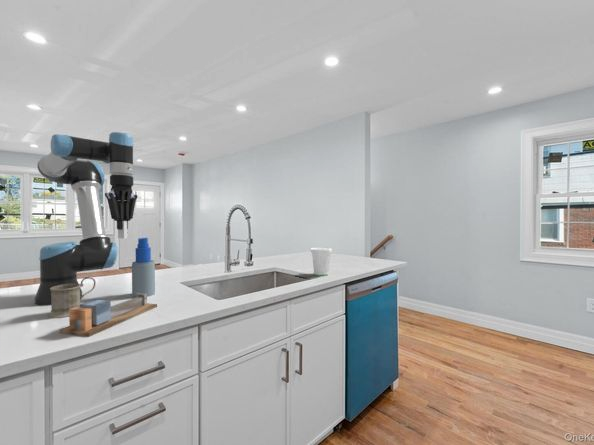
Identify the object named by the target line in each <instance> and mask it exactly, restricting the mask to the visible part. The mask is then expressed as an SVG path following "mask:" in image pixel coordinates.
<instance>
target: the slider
mask: <svg viewBox="0 0 594 445" xmlns="http://www.w3.org/2000/svg"><path fill="white" fill-rule="evenodd" d="M80 308H90V309H91V314H92V321H93V325H99V324H101V323H104V322H106V321H108V320H111V300H103V299H92V300H89V301H85V302H83V303H80Z"/></svg>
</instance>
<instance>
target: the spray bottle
mask: <svg viewBox="0 0 594 445" xmlns="http://www.w3.org/2000/svg"><path fill="white" fill-rule="evenodd" d="M137 241H138V243H137V246H136V247H135V250H134V251H135V261H133V262H132V263H131V293H132V294H131V296H132V297H133V298H136V297H137V294H138V293H143V294H147V298H148V297H151V296H155V294H156V279H155V278H156V268H155V267H156V263H155V260H152V255H151V254H152V249H151V248H152V247H151V246H150V245H149V238H148V237H138V240H137Z"/></svg>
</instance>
